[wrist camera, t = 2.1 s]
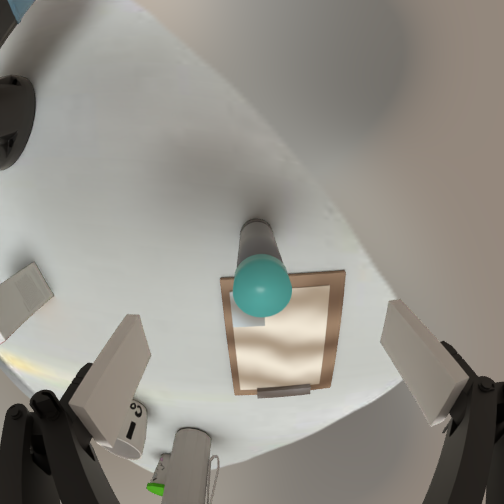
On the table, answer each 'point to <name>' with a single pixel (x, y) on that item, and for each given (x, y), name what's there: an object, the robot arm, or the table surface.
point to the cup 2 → (159, 475)
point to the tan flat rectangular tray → (286, 338)
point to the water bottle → (189, 469)
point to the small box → (21, 299)
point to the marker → (260, 272)
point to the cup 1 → (131, 433)
